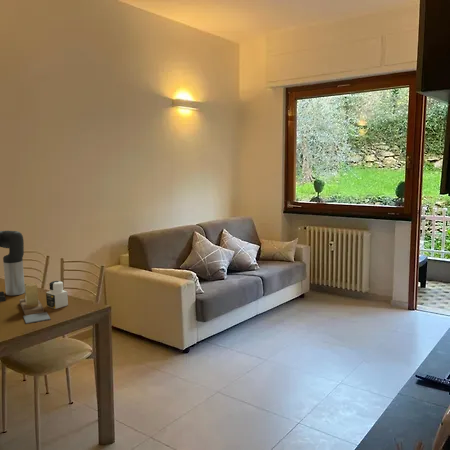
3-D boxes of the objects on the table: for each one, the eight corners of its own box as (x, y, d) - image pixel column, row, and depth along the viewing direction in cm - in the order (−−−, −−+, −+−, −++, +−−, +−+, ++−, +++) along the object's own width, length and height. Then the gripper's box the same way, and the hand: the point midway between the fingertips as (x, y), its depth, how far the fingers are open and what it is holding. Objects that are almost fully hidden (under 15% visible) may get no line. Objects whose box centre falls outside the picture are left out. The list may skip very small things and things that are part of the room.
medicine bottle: (46, 306, 222) (45, 282, 221) (59, 302, 228) (58, 279, 226) (55, 309, 218) (53, 284, 216) (68, 305, 224) (66, 281, 222)
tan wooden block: (25, 304, 219) (24, 284, 217) (36, 303, 221) (35, 282, 220) (27, 307, 214) (25, 286, 213) (38, 305, 217) (37, 285, 215)
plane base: (19, 303, 227) (18, 287, 226) (37, 300, 231) (36, 285, 230) (25, 315, 210) (23, 298, 209) (43, 312, 214) (42, 295, 213)
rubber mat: (23, 316, 208) (23, 315, 208) (46, 313, 213) (46, 312, 213) (26, 323, 199) (25, 322, 199) (50, 319, 204) (50, 318, 204)
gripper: (-37, 297, 197) (5, 291, 205) (-37, 289, 209) (2, 284, 217) (-36, 314, 198) (6, 308, 206) (-36, 305, 210) (4, 300, 218)
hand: (4, 296), depth 211 cm, fingers open, 8 cm apart
